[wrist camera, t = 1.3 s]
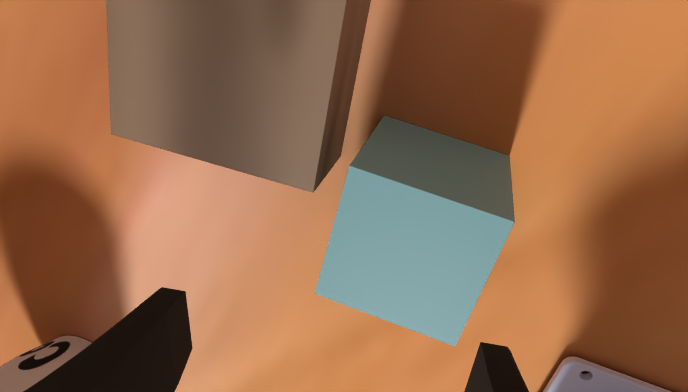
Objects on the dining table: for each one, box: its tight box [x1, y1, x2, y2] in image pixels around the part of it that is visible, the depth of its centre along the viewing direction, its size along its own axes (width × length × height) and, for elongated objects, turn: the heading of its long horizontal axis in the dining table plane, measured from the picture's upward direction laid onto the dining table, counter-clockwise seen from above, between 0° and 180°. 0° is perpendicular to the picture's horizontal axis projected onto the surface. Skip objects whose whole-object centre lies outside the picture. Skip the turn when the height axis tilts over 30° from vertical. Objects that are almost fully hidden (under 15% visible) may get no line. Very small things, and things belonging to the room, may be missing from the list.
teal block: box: [315, 115, 515, 346], centre depth 18 cm, size 5×5×6 cm
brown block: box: [106, 0, 371, 192], centre depth 18 cm, size 8×8×4 cm
